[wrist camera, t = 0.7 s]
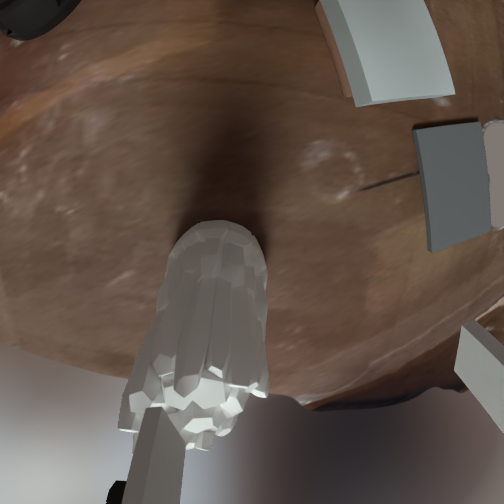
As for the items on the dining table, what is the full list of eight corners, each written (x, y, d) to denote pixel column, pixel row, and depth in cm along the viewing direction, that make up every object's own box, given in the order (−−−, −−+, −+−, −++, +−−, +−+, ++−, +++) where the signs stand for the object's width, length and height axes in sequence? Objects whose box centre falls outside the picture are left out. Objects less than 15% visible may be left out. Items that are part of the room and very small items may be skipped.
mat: (411, 130, 32) (416, 129, 31) (475, 121, 32) (480, 121, 31) (428, 250, 37) (431, 252, 36) (486, 229, 37) (490, 231, 36)
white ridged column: (263, 217, 35) (318, 358, 11) (265, 303, 38) (299, 487, 15) (166, 222, 35) (56, 358, 11) (177, 307, 38) (124, 485, 14)
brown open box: (314, 8, 27) (325, -10, 22) (373, 5, 27) (389, -10, 22) (344, 98, 31) (360, 91, 26) (402, 90, 31) (423, 85, 26)
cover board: (311, -20, 22) (320, -38, 18) (392, -19, 22) (407, -33, 18) (355, 106, 27) (372, 101, 23) (434, 97, 26) (455, 94, 23)
